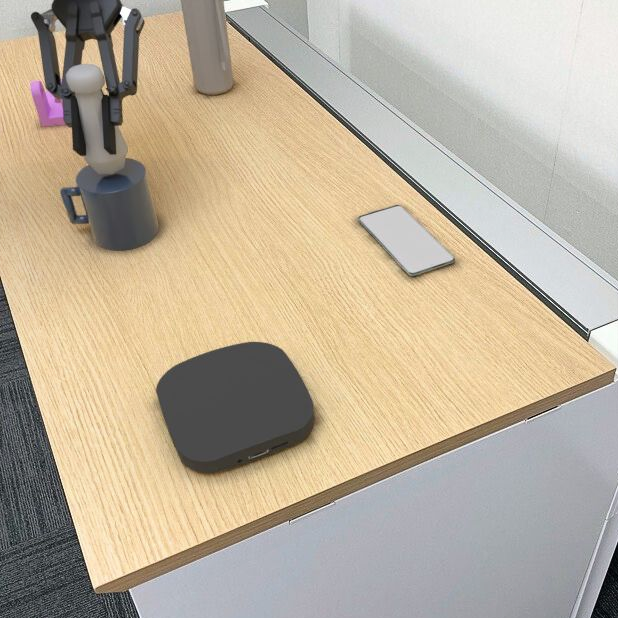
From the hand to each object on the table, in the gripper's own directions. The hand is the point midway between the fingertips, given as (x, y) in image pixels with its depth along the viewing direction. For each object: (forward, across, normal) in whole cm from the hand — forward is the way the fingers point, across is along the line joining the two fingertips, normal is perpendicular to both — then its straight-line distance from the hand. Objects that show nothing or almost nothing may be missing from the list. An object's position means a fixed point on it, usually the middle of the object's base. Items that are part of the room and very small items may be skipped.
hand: (95, 151), depth 90 cm
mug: (+8, +1, -13) cm, 15 cm away
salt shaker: (0, 0, -6) cm, 6 cm away
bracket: (-20, +17, -41) cm, 49 cm away
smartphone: (+11, -38, -9) cm, 41 cm away
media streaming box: (+32, -17, +12) cm, 38 cm away
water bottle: (-24, -10, -44) cm, 51 cm away
